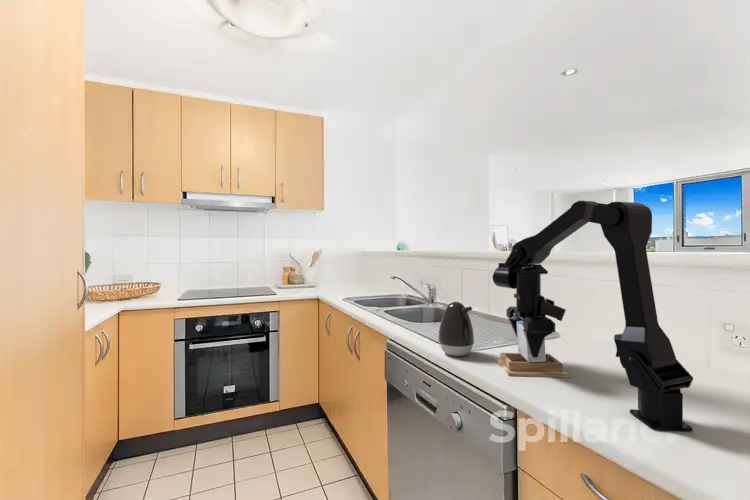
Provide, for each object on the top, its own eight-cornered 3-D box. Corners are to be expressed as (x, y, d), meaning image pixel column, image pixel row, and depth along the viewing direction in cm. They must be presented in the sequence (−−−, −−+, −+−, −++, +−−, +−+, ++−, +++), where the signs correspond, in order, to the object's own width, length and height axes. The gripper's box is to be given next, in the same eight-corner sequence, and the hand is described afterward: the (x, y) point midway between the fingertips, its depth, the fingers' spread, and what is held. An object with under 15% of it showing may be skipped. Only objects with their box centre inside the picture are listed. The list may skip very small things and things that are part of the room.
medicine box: (546, 362, 86) (544, 327, 86) (527, 362, 87) (525, 327, 86) (534, 352, 94) (533, 319, 94) (517, 352, 94) (516, 320, 94)
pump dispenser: (460, 361, 96) (460, 305, 96) (431, 353, 104) (431, 301, 104) (482, 354, 102) (481, 302, 102) (453, 346, 110) (452, 298, 110)
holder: (569, 377, 84) (569, 366, 84) (508, 375, 85) (508, 365, 85) (548, 361, 96) (548, 351, 96) (496, 360, 97) (496, 350, 97)
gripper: (579, 296, 80) (579, 364, 81) (546, 286, 99) (546, 342, 99) (528, 296, 81) (528, 363, 82) (505, 286, 100) (506, 341, 100)
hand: (528, 351), depth 91 cm, fingers open, 9 cm apart
